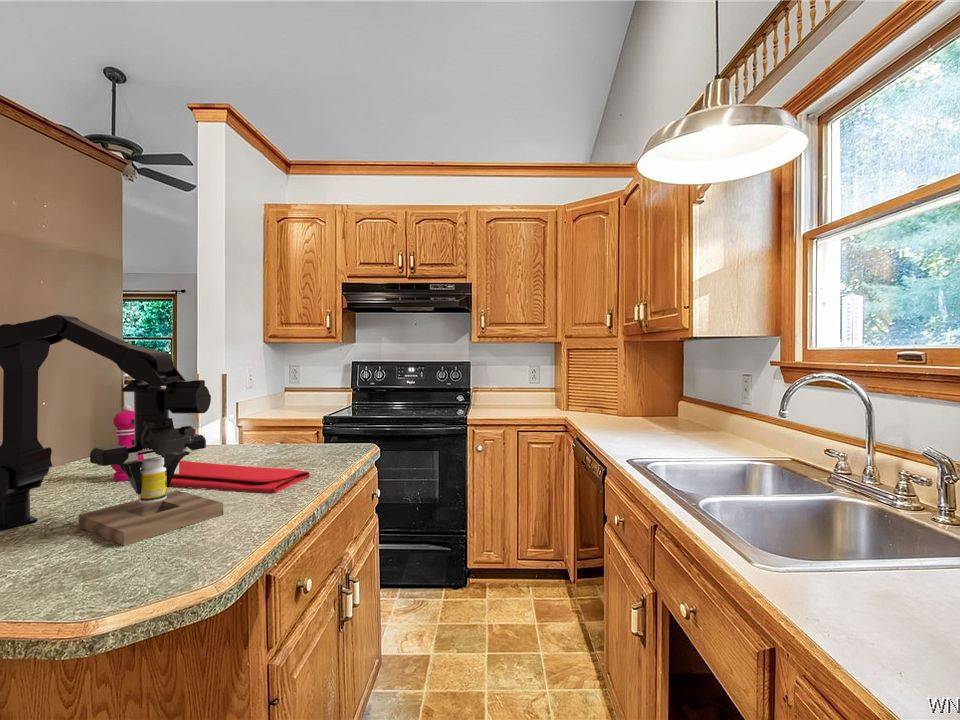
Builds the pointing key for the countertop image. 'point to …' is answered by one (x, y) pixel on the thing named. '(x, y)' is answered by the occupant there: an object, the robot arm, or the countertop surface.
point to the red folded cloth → (234, 477)
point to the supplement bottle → (153, 480)
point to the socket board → (149, 517)
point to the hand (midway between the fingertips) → (152, 490)
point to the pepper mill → (124, 437)
